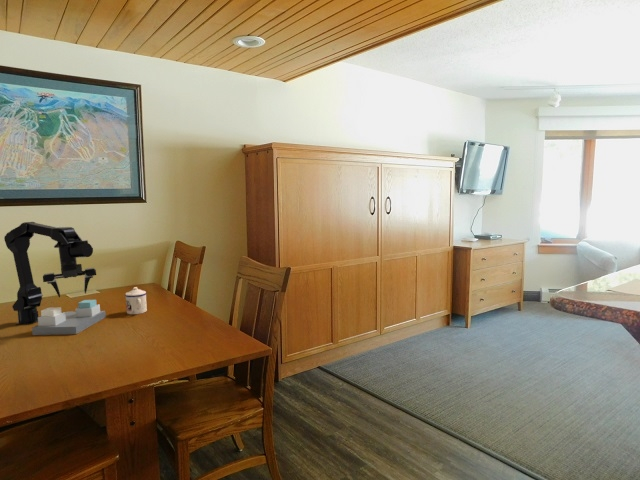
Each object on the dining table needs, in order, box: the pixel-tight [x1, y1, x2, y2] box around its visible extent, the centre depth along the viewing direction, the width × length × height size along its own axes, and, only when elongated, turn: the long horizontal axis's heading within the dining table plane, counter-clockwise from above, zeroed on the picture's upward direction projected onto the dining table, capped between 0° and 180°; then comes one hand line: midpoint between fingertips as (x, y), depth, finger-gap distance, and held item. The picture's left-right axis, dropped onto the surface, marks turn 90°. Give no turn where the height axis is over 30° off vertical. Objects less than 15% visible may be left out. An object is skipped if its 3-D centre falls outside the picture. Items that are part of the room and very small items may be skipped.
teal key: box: [77, 299, 97, 308], centre depth 180 cm, size 5×5×3 cm
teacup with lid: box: [124, 286, 148, 315], centre depth 192 cm, size 12×9×12 cm
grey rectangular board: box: [31, 303, 107, 336], centre depth 175 cm, size 17×23×6 cm
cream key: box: [40, 306, 63, 317], centre depth 168 cm, size 5×5×3 cm
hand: (72, 295), depth 173 cm, fingers open, 9 cm apart
